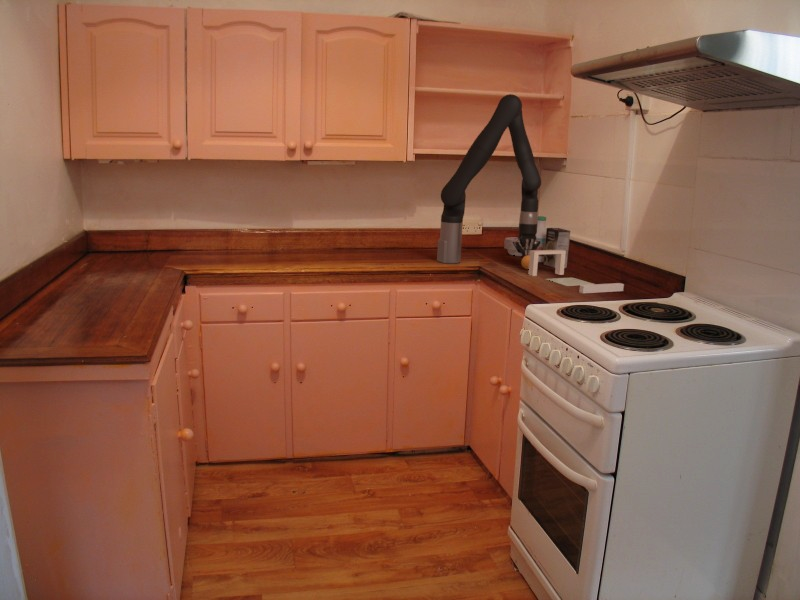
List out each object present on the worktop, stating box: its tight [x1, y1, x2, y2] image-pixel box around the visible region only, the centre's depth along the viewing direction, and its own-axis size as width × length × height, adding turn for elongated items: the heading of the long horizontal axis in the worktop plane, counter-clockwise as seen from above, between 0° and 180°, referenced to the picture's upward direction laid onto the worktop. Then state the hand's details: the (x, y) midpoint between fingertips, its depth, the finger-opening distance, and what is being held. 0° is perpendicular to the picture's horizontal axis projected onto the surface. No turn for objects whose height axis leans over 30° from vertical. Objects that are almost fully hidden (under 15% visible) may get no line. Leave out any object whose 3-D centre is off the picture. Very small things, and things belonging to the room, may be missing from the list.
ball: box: [520, 255, 530, 270], centre depth 279 cm, size 6×6×6 cm
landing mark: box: [545, 277, 595, 287], centre depth 256 cm, size 13×13×1 cm
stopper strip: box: [578, 282, 625, 294], centre depth 239 cm, size 18×2×2 cm, turn 114°
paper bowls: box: [503, 236, 522, 257], centre depth 318 cm, size 15×15×8 cm
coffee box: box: [543, 227, 571, 269], centre depth 289 cm, size 9×6×16 cm
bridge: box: [527, 250, 566, 277], centre depth 268 cm, size 3×15×10 cm, turn 114°
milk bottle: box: [536, 215, 547, 263], centre depth 300 cm, size 8×8×20 cm
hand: (525, 263), depth 283 cm, fingers closed
